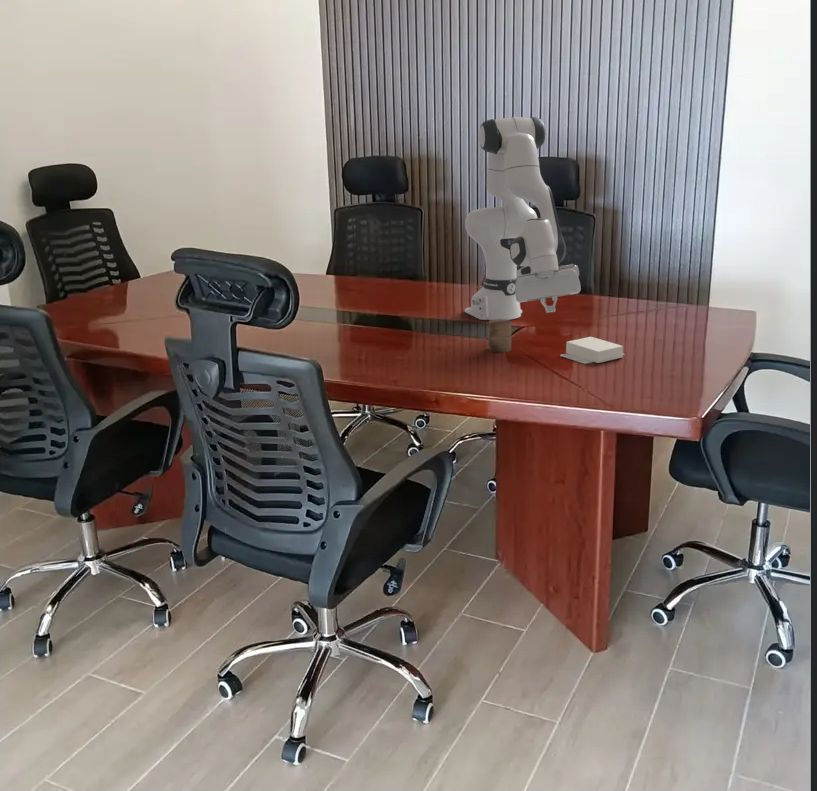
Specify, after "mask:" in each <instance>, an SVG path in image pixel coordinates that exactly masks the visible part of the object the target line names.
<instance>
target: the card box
mask: <svg viewBox="0 0 817 791" xmlns="http://www.w3.org/2000/svg"><path fill="white" fill-rule="evenodd" d="M565 343H566V344H565V354H567V353H568V354H571V355H574V356H578V357H581V358H584V359H587V360H590V361H593V362H592V363H597V364H599V363H605V362H608V361H609V362H610V361H614V360H617V359H621V358H623V357H624V355H623V354H624V345H620V344H619V343H614V342H612V341H611V342H610V341H608V340H603V339H600V338H596V337H593V336H588V337H583V338H577V339H573V340H569V341H565Z"/></svg>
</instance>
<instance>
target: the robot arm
mask: <svg viewBox="0 0 817 791" xmlns="http://www.w3.org/2000/svg"><path fill="white" fill-rule="evenodd" d="M545 140H546V127H545V123H544V122H543V120H542V119H541V118H539V117H536V116H535V117H534V116H529V117H523V116H511V117H502V118H496V119H494V118H493V119H487V120H484V121H483V122H482V123H481V125H480V126H479V132H478V142H479V145H480V149H482V150H483V151H484V152H486V153H488V157H487V170H486V171H487V172H486V174H487V175H486V178H487V179H486V189H487V192H488V193H489V194H490V195H491V196H493V197H494V198H496V199H498V200H501V201H502V206H500V207H497V206H496V207H483V208H482V207H481V208H479V209H477V208H476V209H474V210H470V212H468V214H467V216H466V218H465V223H464V227H465V231H466V233H467V235H468V237H470V238H471V239H472V240H474V241H475V242H476V243H477V245H479V247H480V248H481V250H482V252H483V255H484V261H485V263H484V264H485V277H484V278H482V277H481V282H483V284H482V287H481V288H480V289H479V290H478V291H476V292H475V293H474V294H473V295H472V296H471V301H470V305H471V306H470V307H466V308H465V309H464V313H465V314H468V315H470V316H472V317H475V318H476V319H478V320H481V321H483V320H484V321H487V320H488V321H490V320H494V319H506V320H515V319H518V318H520V317H522V314H523V309H521V303H524V302H532V301H533V302H534V301H538V300H540V303H541V304H542V306H543V307H544V309H545V313H546V314H548V313H555V312H556V304H557V301H558V297H564V296H569V295H575V294H577V295H578V294H579V293H580V292H581V289H582V288H581V287H582V286H581V281H580V279H579V276H580V269H579V267H578V265H576V264H573V263H571V264H564V265H559V264H561V262H562V261H563V260H564V258H565V257H566V254H567V246H566V242H565V240H564V237H563V234H562V231H561V228H560V221H559V218H558V213H557V209H556V208H557V207H556V203H555V199H554V196H553V191H552V190H551V188H550V186H549V185H548V184H547V183H545V181H544V179H543V177H542V175H541V168H540V161H539V160H540V159H539V153H538V149H540V148H542V146H543V145H544V143H545V142H546V141H545ZM526 201H527V202H529V203H531V204H532V205H533V206H535V207H536V208H537V209H538V211H539V214H540V217H538V215H537V212H536V211H535V210H534V209H533V208H532V207H530V206H529V204H527V203H526ZM504 239H505V240H507V239H513V240H512V242H511V243H510V244H509V249H508V248H506V247H504V246H502V244H501V240H504ZM517 267H520V268H517ZM549 298H551V299H552V301H553V304H552V305H547V303H546V302H547V301H546V299H549Z"/></svg>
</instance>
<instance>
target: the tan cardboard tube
mask: <svg viewBox="0 0 817 791" xmlns="http://www.w3.org/2000/svg"><path fill="white" fill-rule="evenodd" d="M488 351H489V352H492V353H497V354H498V353H508V352H509V353H510V351H512V321H511V319H509V320H506V319H494V320H488Z"/></svg>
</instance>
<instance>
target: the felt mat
mask: <svg viewBox="0 0 817 791" xmlns="http://www.w3.org/2000/svg"><path fill="white" fill-rule="evenodd" d="M559 356H560V357H563V358H566V359H569V360H572V361H575V362H578V363H581V364H583V365H586V364H593V363H594V362H593V361H590V360H587V359H584V358H581V357H578V356H574V355H571V354H568V353H563V354H560V355H559ZM623 356H625V353H623Z"/></svg>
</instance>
